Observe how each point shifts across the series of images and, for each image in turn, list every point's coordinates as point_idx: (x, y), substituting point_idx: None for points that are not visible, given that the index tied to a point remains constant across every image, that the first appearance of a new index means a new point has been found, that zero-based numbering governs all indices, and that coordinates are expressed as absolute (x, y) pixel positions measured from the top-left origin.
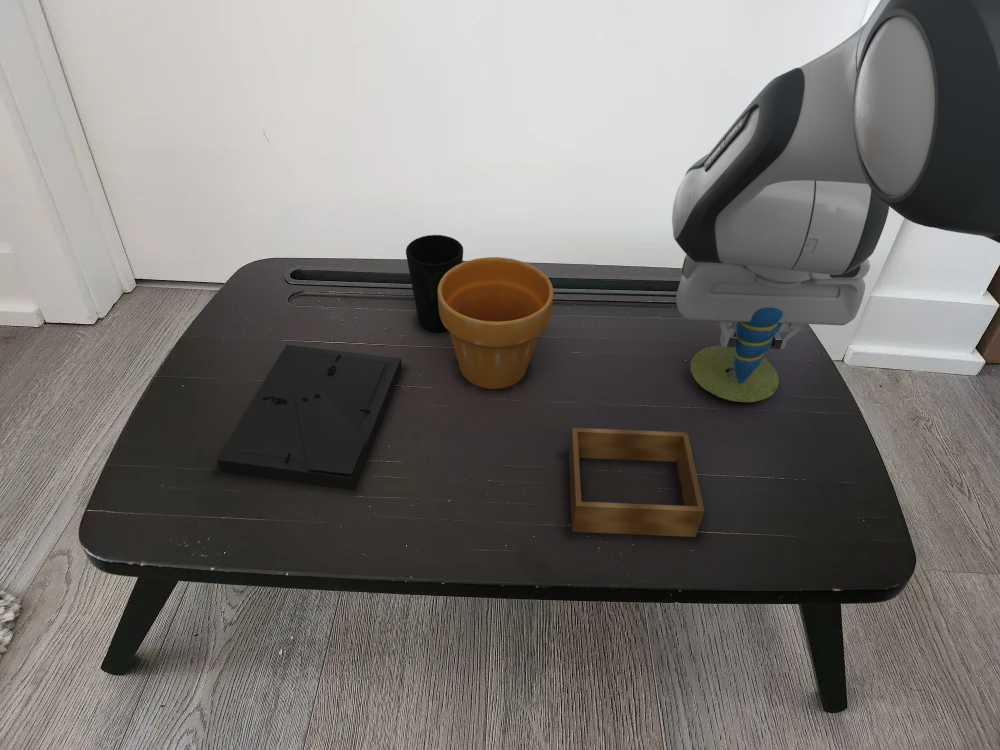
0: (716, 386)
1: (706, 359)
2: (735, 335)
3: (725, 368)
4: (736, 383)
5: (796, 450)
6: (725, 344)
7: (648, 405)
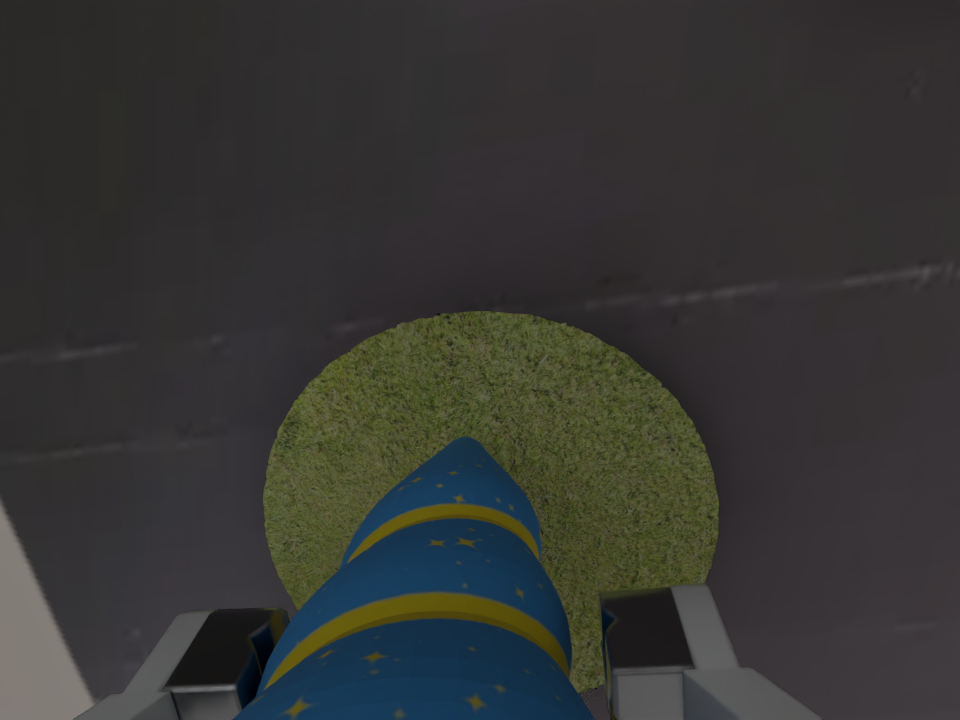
0: (595, 414)
1: None
2: (626, 701)
3: None
4: None
5: (192, 52)
6: (695, 603)
7: (952, 274)
